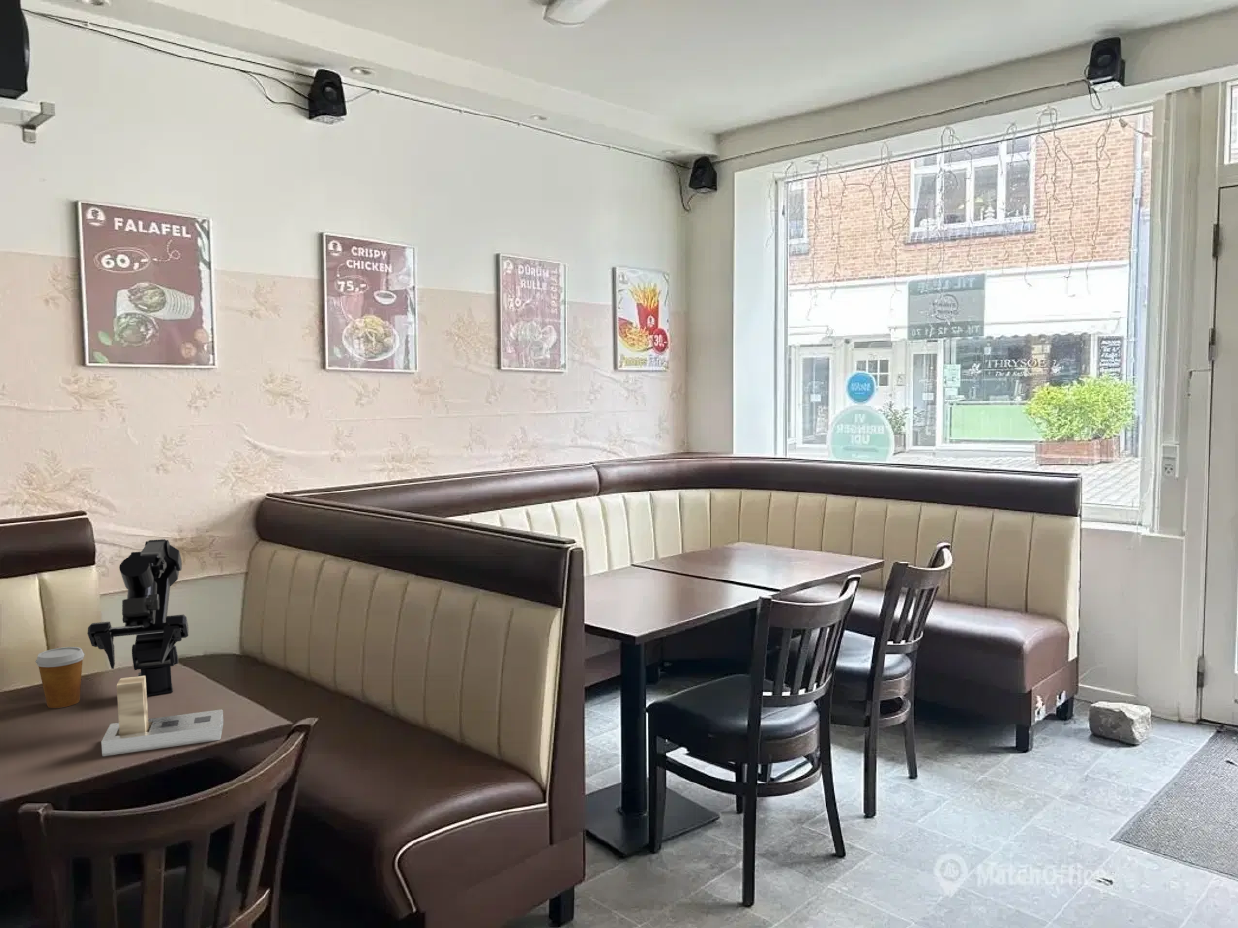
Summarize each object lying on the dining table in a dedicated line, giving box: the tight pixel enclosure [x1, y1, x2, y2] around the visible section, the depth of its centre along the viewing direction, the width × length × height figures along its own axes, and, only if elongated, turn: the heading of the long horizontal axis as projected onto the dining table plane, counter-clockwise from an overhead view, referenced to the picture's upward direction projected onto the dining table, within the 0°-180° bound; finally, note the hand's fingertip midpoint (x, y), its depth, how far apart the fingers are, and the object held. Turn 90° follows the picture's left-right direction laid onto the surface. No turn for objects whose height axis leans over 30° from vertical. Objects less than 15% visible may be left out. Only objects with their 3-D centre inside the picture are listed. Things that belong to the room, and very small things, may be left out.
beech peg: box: [116, 675, 149, 736], centre depth 178 cm, size 4×4×13 cm
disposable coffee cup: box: [35, 646, 85, 709], centre depth 203 cm, size 10×10×12 cm
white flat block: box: [100, 709, 224, 757], centre depth 181 cm, size 21×10×3 cm, turn 111°
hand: (137, 665), depth 187 cm, fingers open, 9 cm apart
